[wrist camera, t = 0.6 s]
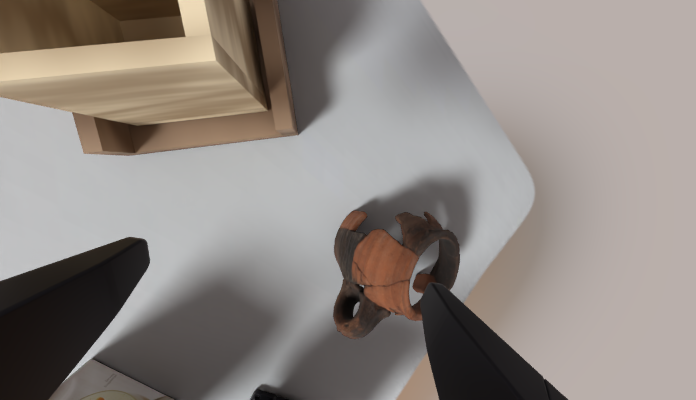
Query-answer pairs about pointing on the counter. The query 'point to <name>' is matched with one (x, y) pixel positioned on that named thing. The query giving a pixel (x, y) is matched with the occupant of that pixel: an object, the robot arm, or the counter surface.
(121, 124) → the bay
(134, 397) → the coffee box
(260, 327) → the counter surface
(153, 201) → the counter surface
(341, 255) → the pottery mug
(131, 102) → the crate
